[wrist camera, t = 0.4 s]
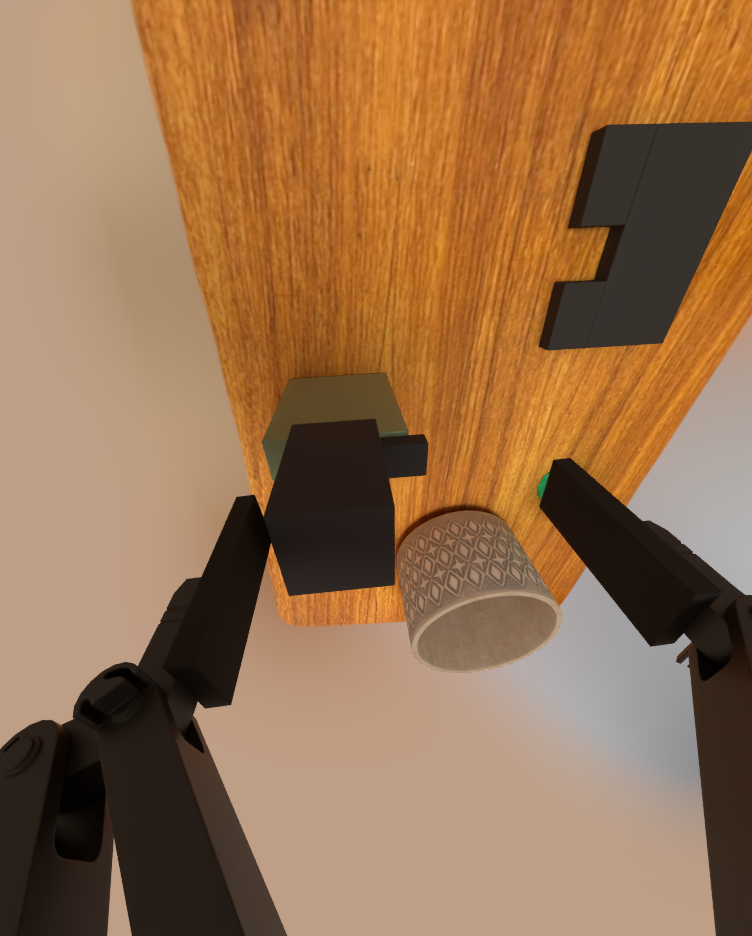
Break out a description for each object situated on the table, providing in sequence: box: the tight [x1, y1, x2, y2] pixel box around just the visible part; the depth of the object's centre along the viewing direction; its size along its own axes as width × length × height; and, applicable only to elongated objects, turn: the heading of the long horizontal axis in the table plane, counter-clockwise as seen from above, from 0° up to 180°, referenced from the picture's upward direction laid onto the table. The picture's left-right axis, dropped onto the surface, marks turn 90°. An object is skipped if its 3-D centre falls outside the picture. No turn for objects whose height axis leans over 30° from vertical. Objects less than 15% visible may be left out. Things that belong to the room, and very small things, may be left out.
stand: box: [262, 373, 408, 481], centre depth 25 cm, size 3×9×12 cm, turn 92°
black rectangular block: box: [263, 419, 428, 596], centre depth 16 cm, size 5×8×8 cm, turn 92°
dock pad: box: [539, 122, 752, 350], centre depth 25 cm, size 14×11×2 cm
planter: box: [396, 510, 562, 673], centre depth 39 cm, size 16×16×13 cm
